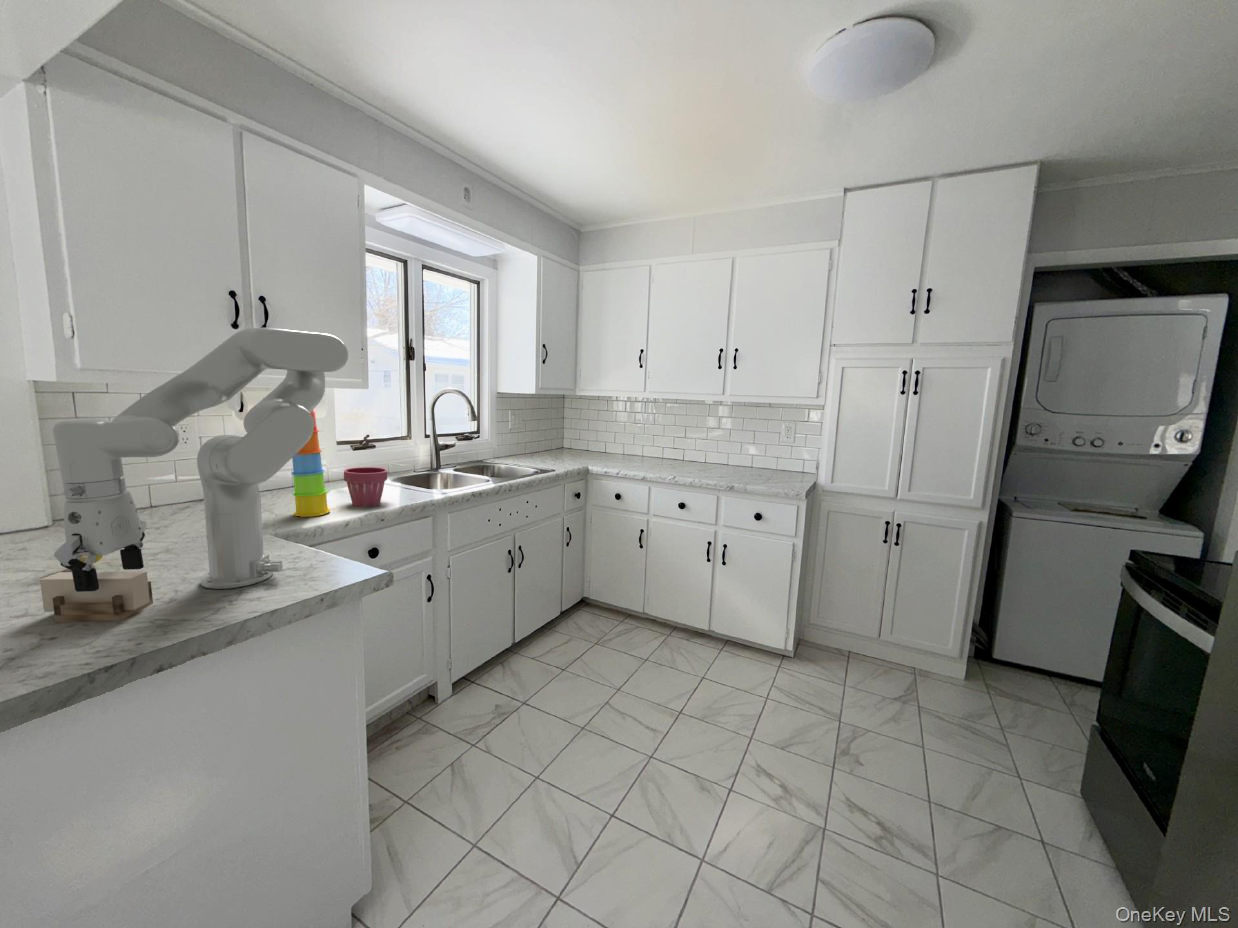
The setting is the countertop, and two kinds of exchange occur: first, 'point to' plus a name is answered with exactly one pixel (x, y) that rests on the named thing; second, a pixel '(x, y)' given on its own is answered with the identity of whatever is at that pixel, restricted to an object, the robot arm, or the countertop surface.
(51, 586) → the clay bar
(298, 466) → the stacking cups
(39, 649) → the countertop surface
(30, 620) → the countertop surface
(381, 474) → the plant pot
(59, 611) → the rack
